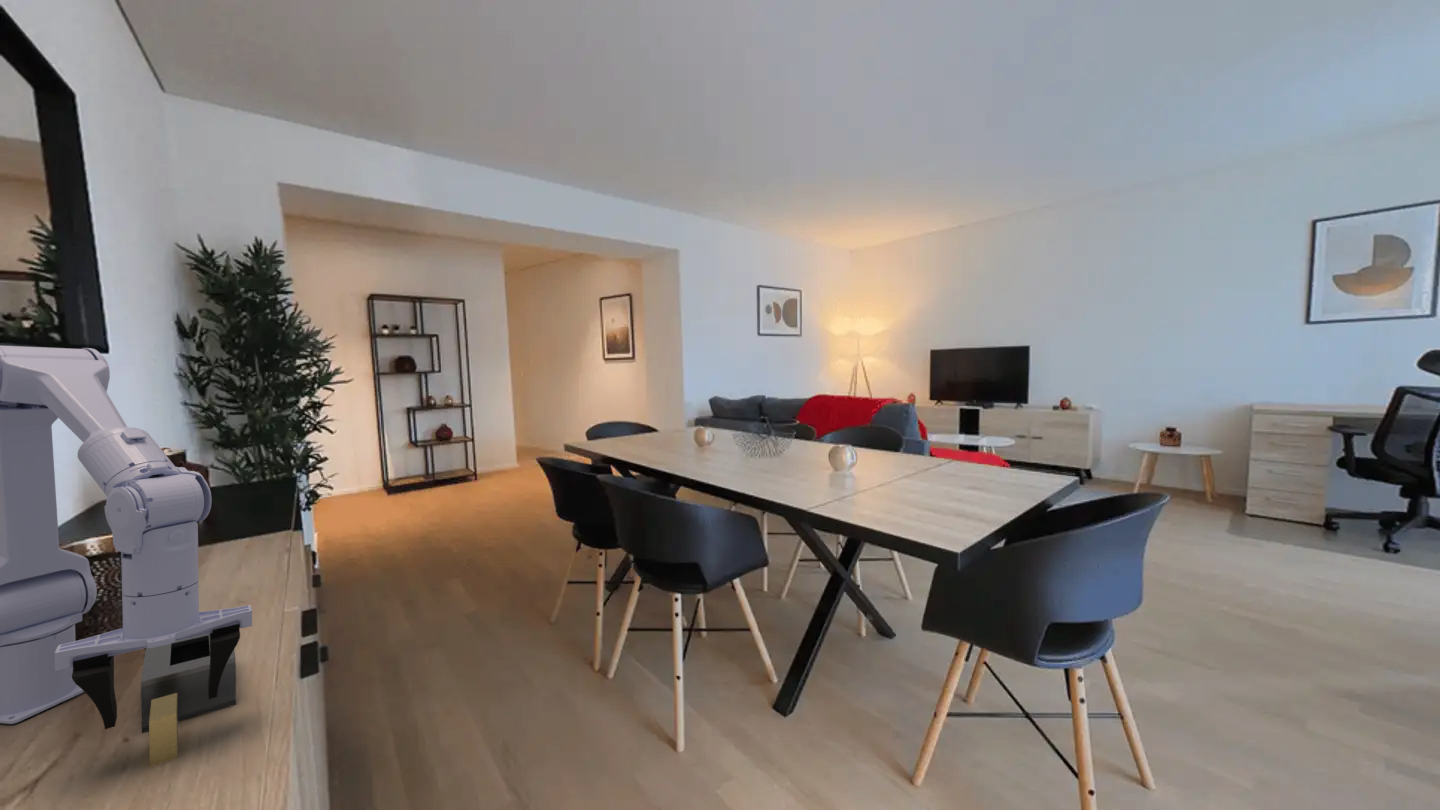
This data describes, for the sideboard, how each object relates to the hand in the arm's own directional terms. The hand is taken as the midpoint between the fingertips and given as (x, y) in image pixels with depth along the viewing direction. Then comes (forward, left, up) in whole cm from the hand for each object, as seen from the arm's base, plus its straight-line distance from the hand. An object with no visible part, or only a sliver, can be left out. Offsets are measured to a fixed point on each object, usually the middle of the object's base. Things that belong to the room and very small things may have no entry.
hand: (164, 708), depth 58 cm
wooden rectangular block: (0, 0, -5) cm, 5 cm away
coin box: (-8, +9, -5) cm, 13 cm away
